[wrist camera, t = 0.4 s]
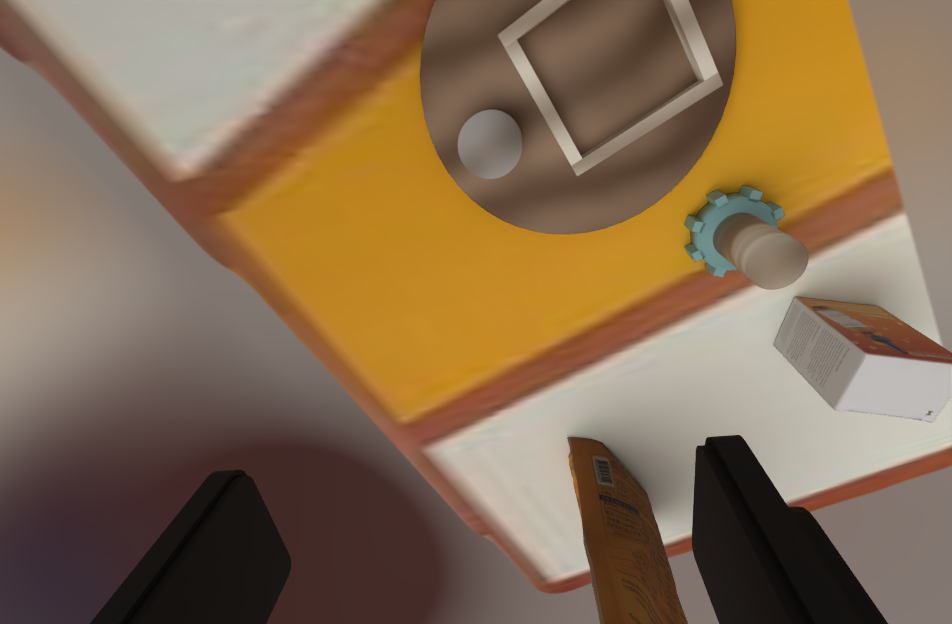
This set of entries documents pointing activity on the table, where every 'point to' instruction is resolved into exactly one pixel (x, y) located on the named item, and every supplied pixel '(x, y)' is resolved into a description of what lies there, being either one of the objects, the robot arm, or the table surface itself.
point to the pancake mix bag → (621, 541)
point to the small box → (866, 359)
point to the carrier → (574, 102)
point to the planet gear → (745, 239)
